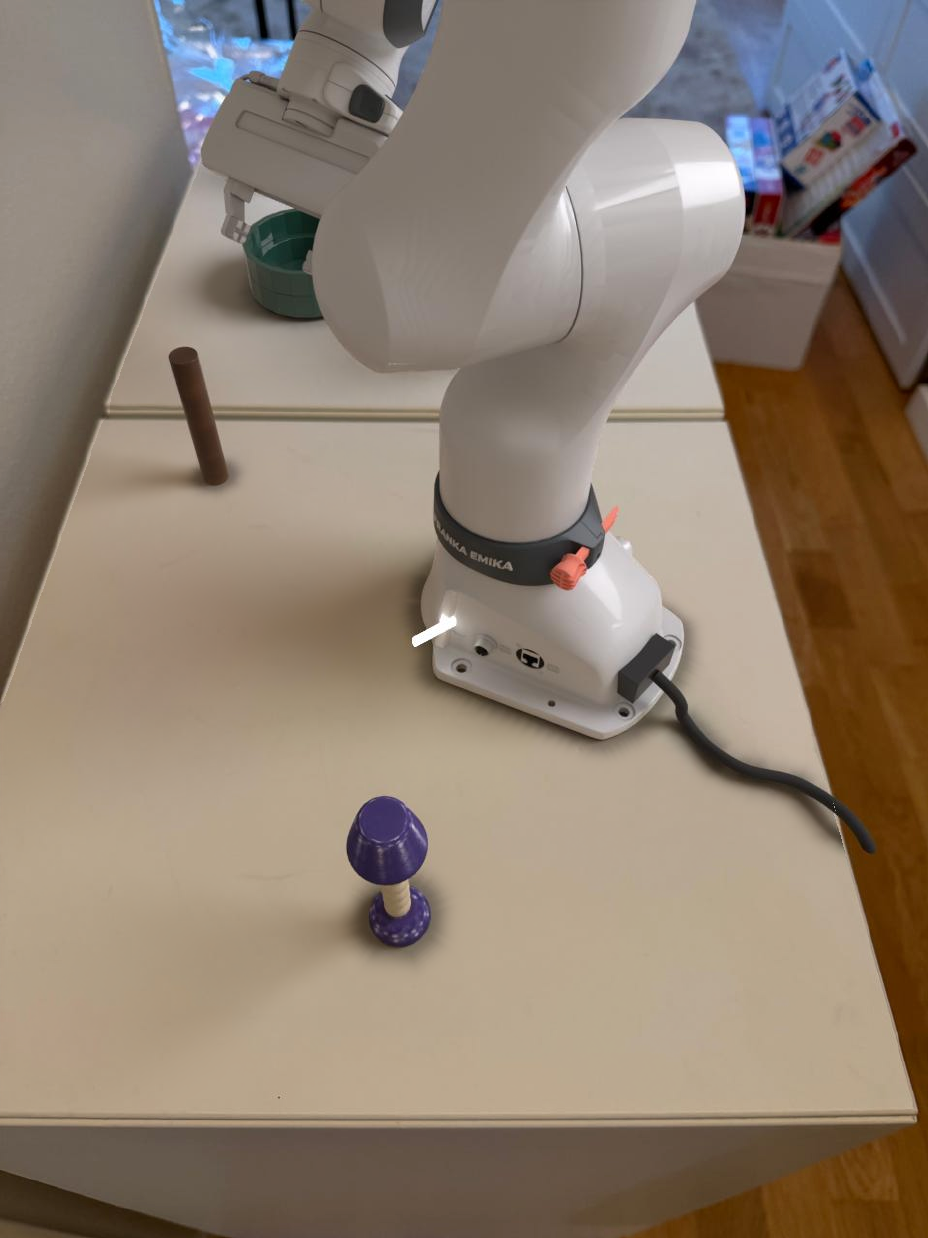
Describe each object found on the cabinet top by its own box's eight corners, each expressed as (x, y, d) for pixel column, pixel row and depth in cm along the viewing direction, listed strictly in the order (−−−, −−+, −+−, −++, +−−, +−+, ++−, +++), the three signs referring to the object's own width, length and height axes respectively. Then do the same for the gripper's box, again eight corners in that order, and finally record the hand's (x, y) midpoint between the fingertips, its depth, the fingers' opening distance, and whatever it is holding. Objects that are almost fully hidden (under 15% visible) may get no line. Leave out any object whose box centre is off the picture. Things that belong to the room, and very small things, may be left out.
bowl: (391, 280, 108) (389, 232, 103) (317, 336, 101) (310, 288, 97) (304, 242, 113) (298, 194, 108) (227, 294, 106) (217, 246, 101)
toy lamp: (433, 953, 62) (429, 855, 48) (363, 959, 61) (340, 861, 48) (429, 884, 64) (424, 772, 51) (362, 888, 64) (340, 778, 51)
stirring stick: (234, 474, 88) (203, 353, 77) (216, 489, 87) (182, 367, 76) (215, 464, 89) (182, 342, 78) (198, 478, 88) (162, 357, 77)
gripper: (218, 45, 78) (161, 205, 81) (412, 114, 71) (342, 286, 74) (262, 82, 84) (208, 231, 87) (445, 149, 77) (380, 308, 80)
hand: (271, 257), depth 80 cm, fingers open, 8 cm apart
